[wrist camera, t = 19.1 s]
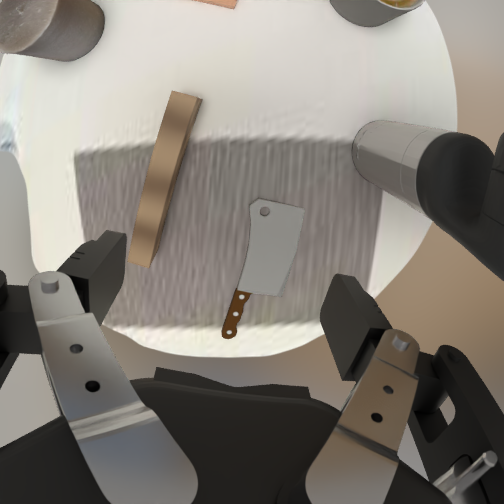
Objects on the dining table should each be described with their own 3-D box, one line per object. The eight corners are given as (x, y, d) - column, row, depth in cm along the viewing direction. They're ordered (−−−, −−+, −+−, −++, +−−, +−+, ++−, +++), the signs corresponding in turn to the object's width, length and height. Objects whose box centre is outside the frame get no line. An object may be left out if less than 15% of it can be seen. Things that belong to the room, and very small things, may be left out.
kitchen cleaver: (266, 346, 54) (208, 335, 52) (265, 342, 55) (208, 331, 53) (321, 212, 45) (254, 192, 43) (319, 210, 46) (253, 190, 44)
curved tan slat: (180, 93, 38) (172, 90, 32) (202, 99, 38) (197, 97, 33) (138, 243, 46) (127, 261, 40) (158, 249, 46) (148, 268, 41)
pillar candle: (67, -4, 29) (10, -32, 15) (118, 9, 31) (69, -25, 18) (37, 54, 32) (-28, 46, 19) (85, 70, 35) (24, 61, 21)
